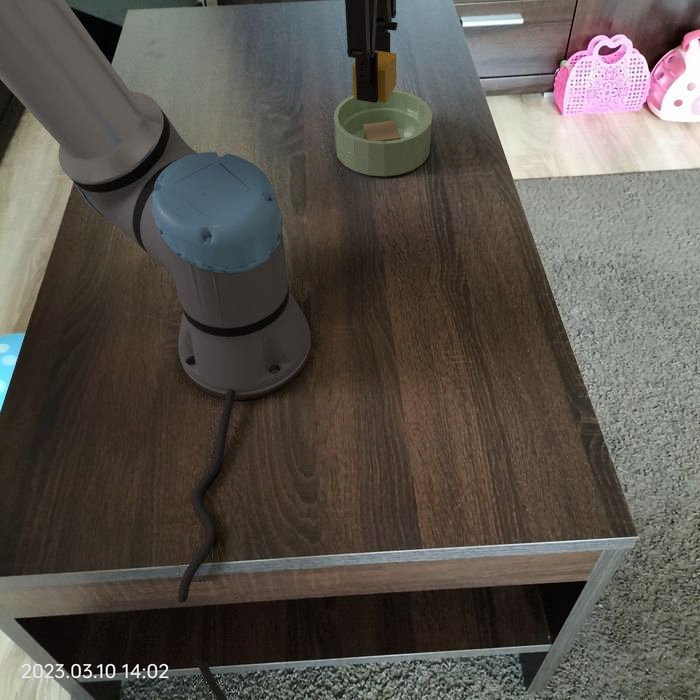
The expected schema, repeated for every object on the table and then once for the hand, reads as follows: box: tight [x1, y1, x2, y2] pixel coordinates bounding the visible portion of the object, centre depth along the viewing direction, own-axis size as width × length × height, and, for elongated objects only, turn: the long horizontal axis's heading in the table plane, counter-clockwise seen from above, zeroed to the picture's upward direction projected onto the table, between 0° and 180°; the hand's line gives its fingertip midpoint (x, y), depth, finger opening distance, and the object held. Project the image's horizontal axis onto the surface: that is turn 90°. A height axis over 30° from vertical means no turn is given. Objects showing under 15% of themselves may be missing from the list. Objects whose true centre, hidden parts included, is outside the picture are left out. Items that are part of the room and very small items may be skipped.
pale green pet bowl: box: [333, 89, 434, 177], centre depth 108 cm, size 14×14×6 cm
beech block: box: [364, 121, 401, 141], centre depth 106 cm, size 4×4×4 cm
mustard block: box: [351, 51, 397, 103], centre depth 95 cm, size 4×4×4 cm
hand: (373, 89), depth 96 cm, fingers closed on mustard block, 4 cm apart
